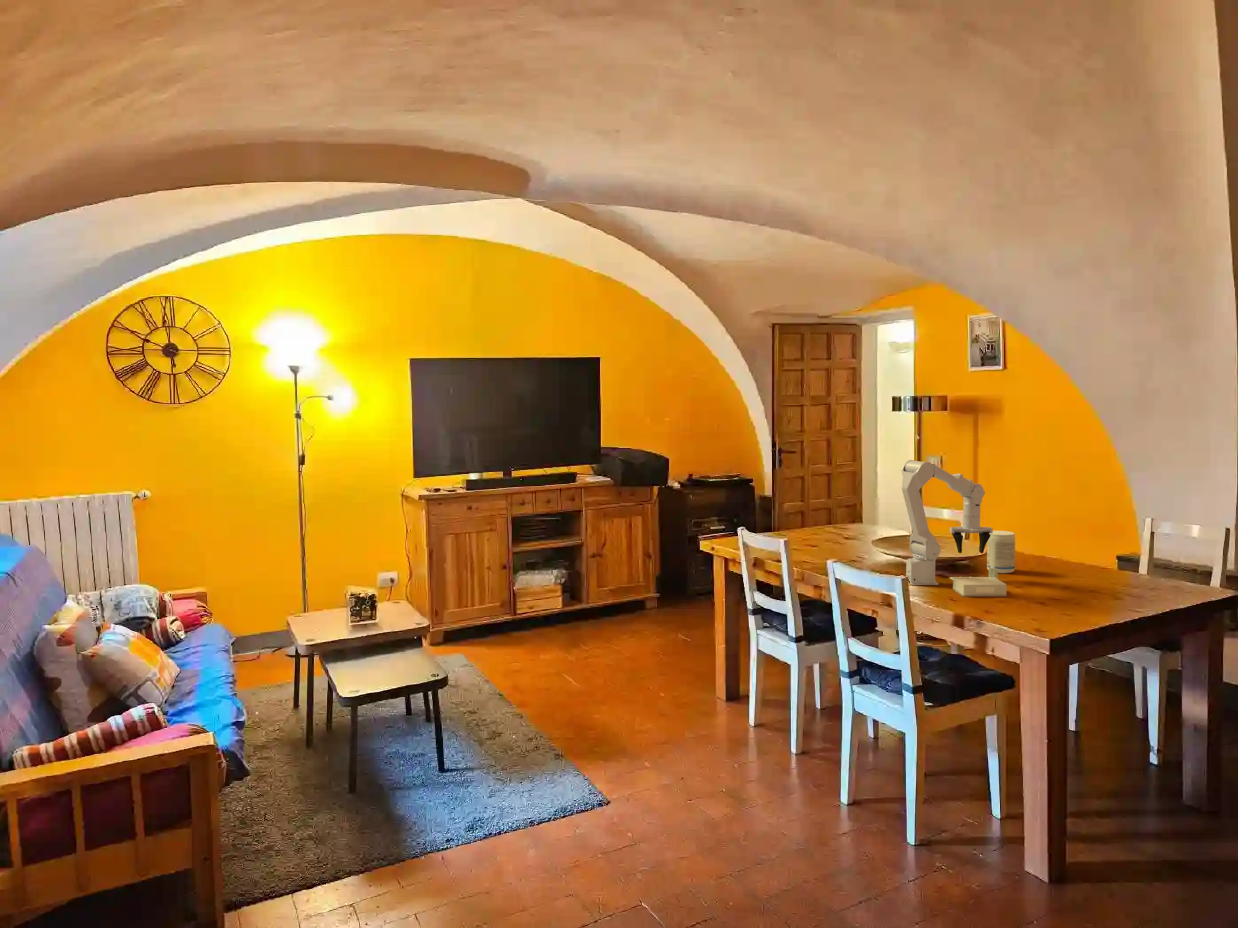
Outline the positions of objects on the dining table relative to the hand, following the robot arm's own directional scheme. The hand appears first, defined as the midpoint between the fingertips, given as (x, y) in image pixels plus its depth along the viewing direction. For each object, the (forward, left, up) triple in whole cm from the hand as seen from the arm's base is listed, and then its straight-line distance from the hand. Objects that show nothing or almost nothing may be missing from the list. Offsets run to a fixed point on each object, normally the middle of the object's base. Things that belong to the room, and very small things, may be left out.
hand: (970, 552), depth 300 cm
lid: (0, -5, -10) cm, 11 cm away
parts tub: (-5, -21, -9) cm, 24 cm away
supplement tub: (+15, +11, -10) cm, 21 cm away
